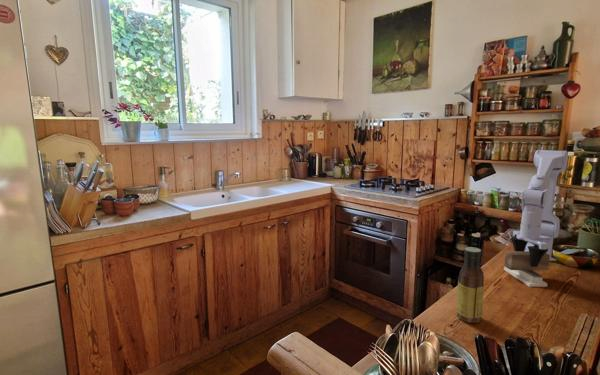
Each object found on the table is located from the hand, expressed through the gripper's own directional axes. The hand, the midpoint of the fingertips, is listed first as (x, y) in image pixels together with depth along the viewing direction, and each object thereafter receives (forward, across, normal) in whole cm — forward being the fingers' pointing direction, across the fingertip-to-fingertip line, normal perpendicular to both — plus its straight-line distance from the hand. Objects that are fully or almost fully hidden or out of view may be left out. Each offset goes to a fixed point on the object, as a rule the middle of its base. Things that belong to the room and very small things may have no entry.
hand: (526, 262), depth 119 cm
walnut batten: (+2, 0, 0) cm, 2 cm away
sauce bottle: (+6, +26, -33) cm, 42 cm away
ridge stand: (+6, 0, 0) cm, 6 cm away
